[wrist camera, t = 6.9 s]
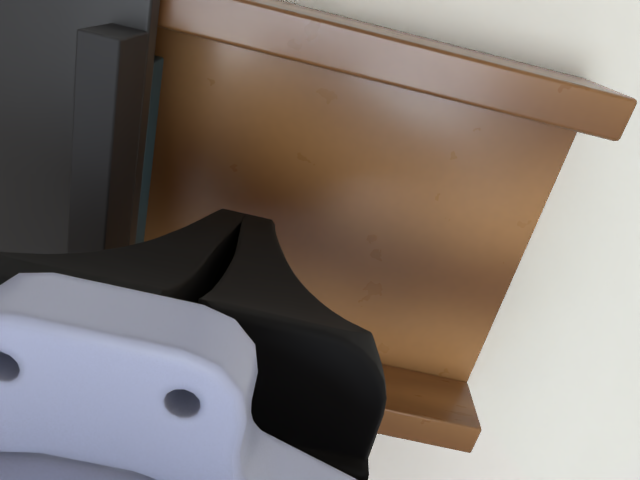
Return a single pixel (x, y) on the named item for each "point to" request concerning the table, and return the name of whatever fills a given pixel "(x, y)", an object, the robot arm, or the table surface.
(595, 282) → the table surface
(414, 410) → the brown wooden shelf
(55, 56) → the lid
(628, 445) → the table surface
